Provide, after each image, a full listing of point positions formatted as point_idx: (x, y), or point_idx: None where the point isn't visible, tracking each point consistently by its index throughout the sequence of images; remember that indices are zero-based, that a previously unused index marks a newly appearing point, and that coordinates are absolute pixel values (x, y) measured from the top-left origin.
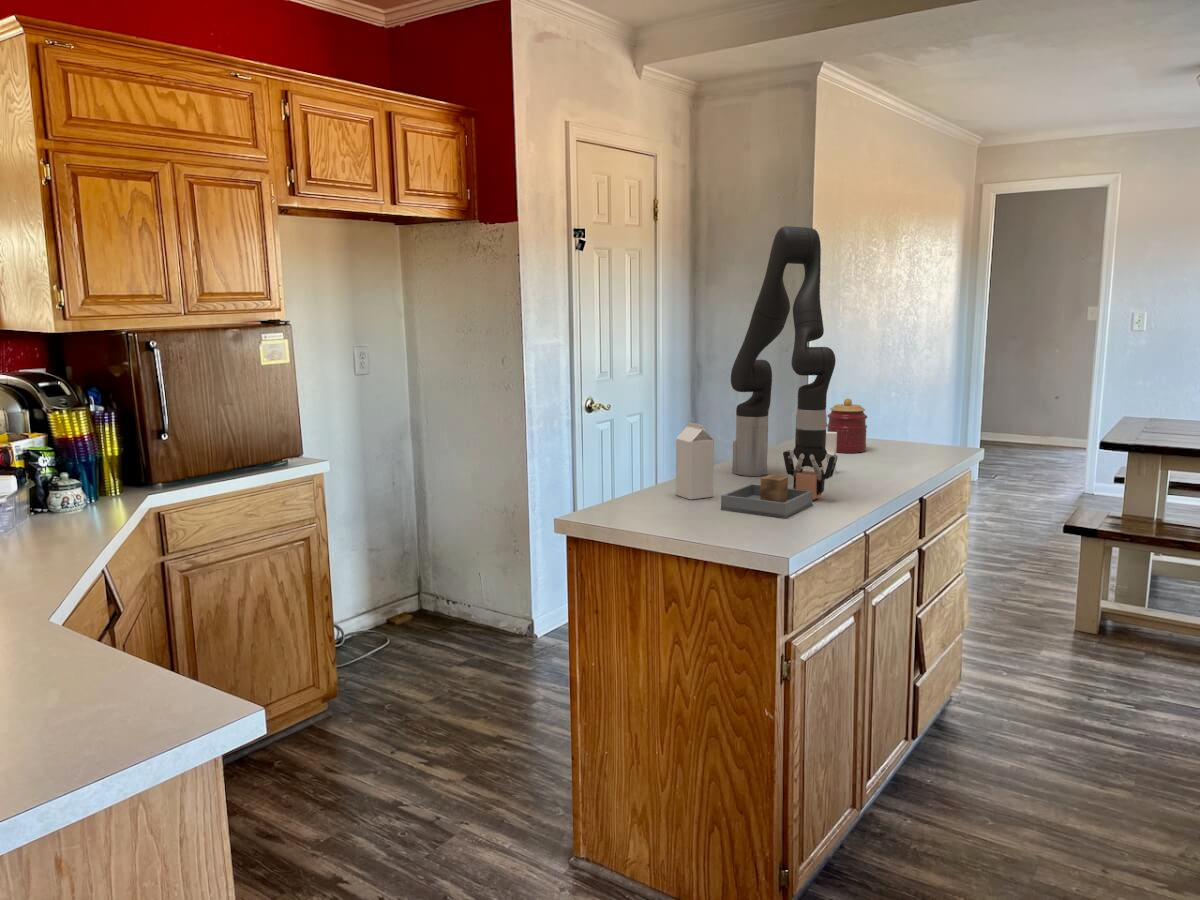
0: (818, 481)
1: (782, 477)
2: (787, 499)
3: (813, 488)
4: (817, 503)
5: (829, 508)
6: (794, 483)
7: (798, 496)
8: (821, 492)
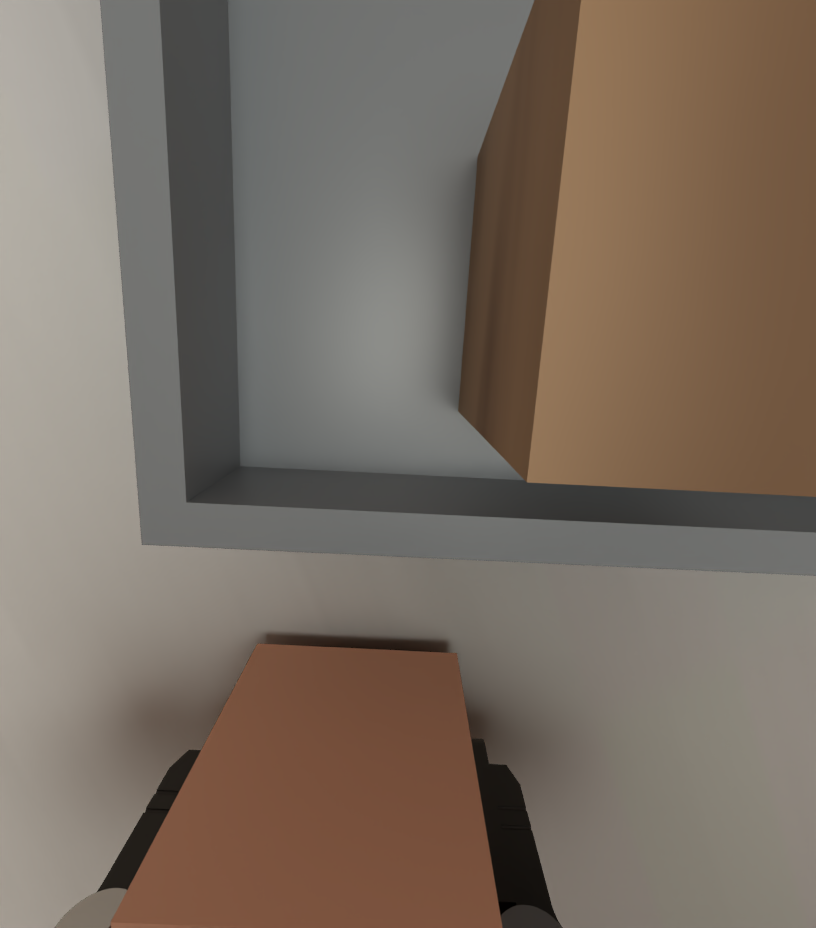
0: None
1: (647, 364)
2: (479, 478)
3: (226, 728)
4: (210, 584)
5: (17, 436)
6: (519, 830)
7: (144, 28)
8: (185, 755)
